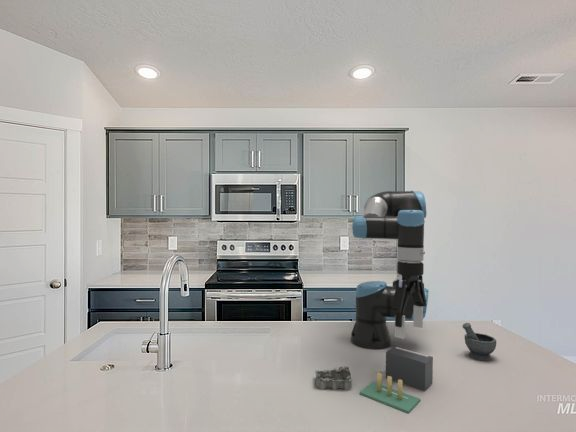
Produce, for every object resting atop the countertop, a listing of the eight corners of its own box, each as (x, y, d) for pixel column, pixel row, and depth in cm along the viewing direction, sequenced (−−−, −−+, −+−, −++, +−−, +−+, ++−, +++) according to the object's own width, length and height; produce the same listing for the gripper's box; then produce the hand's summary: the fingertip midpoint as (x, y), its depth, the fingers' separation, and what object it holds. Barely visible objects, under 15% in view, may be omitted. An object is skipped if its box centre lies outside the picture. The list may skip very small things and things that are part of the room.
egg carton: (350, 379, 106) (350, 366, 106) (352, 392, 99) (353, 377, 99) (315, 377, 107) (315, 364, 107) (314, 389, 100) (315, 375, 100)
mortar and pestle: (485, 351, 129) (485, 318, 128) (502, 362, 119) (502, 327, 119) (455, 351, 128) (455, 319, 128) (470, 362, 119) (470, 327, 119)
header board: (359, 393, 97) (359, 373, 97) (373, 383, 103) (373, 364, 103) (408, 413, 88) (408, 391, 88) (420, 400, 94) (420, 380, 94)
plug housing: (385, 377, 107) (385, 351, 107) (394, 371, 112) (394, 345, 112) (425, 391, 99) (425, 362, 99) (432, 383, 104) (432, 356, 104)
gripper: (405, 266, 93) (404, 346, 93) (437, 259, 112) (436, 325, 112) (379, 263, 98) (378, 339, 98) (414, 257, 117) (413, 320, 117)
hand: (409, 332), depth 105 cm, fingers open, 13 cm apart
